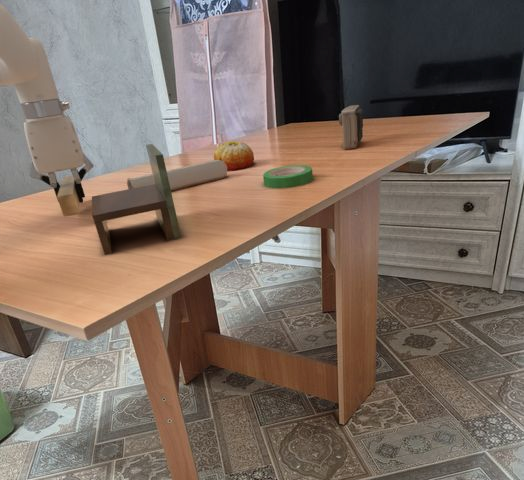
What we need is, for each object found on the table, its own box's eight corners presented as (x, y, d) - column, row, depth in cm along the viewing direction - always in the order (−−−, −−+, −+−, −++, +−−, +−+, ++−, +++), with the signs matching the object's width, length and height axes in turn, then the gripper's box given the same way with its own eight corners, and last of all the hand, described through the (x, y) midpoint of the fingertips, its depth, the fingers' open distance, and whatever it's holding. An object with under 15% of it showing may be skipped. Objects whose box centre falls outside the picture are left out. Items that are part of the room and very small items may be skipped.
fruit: (207, 172, 126) (205, 140, 124) (227, 174, 135) (226, 144, 133) (243, 170, 121) (242, 136, 119) (261, 172, 130) (261, 141, 128)
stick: (63, 216, 94) (56, 196, 92) (68, 194, 114) (62, 177, 112) (78, 213, 94) (72, 193, 92) (81, 192, 114) (75, 175, 112)
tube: (219, 159, 120) (125, 180, 111) (226, 154, 115) (129, 175, 106) (225, 181, 121) (132, 203, 112) (233, 176, 116) (137, 199, 107)
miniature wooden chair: (105, 256, 78) (77, 170, 71) (103, 232, 91) (79, 156, 83) (182, 239, 81) (162, 154, 74) (169, 218, 93) (152, 143, 86)
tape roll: (286, 191, 100) (285, 179, 98) (254, 186, 107) (253, 174, 106) (323, 179, 105) (322, 167, 104) (290, 175, 113) (289, 163, 111)
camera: (345, 142, 140) (344, 105, 134) (365, 141, 138) (365, 103, 132) (338, 150, 131) (337, 111, 125) (359, 149, 129) (359, 109, 124)
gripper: (84, 105, 99) (109, 193, 109) (3, 116, 96) (36, 206, 105) (84, 106, 93) (110, 199, 103) (-3, 118, 90) (33, 214, 99)
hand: (72, 202), depth 104 cm, fingers closed on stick, 3 cm apart
